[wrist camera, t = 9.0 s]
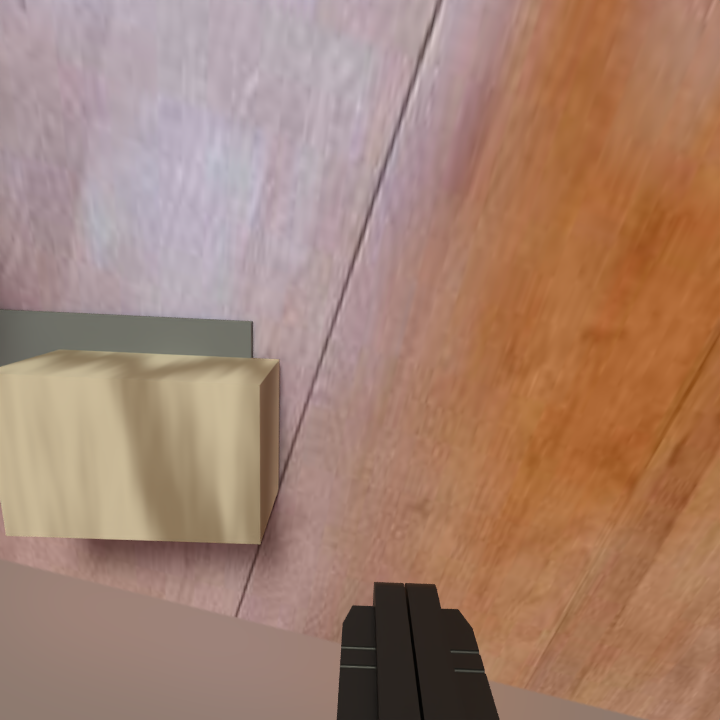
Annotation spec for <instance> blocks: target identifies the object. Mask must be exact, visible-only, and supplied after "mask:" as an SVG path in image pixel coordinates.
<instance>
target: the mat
mask: <svg viewBox="0 0 720 720" xmlns="http://www.w3.org/2000/svg"><path fill="white" fill-rule="evenodd" d="M60 349H61V350H83V351H105V352H127V353H149V354H171V355H194V356H216V357H238V358H253V321H235V320H214V319H193V318H172V317H151V316H130V315H109V314H88V313H67V312H46V311H25V310H4V309H0V367H1V366H5V365H8V364H12V363H15V362H19V361H22V360H25V359H29V358H32V357H36V356H39V355H42V354H46V353H49V352H53V351H56V350H60Z"/></svg>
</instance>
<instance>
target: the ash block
mask: <svg viewBox="0 0 720 720" xmlns="http://www.w3.org/2000/svg"><path fill="white" fill-rule="evenodd" d="M278 490H279V359H260V358H238V357H216V356H194V355H171V354H149V353H127V352H105V351H83V350H61V349H60V350H56V351H53V352H49V353H46V354H42V355H39V356H36V357H32V358H29V359H25V360H22V361H19V362H15V363H12V364H8V365H5V366H1V367H0V501H1V507H2V513H3V519H4V525H5V532H6V536H29V537H59V538H88V539H118V540H147V541H177V542H206V543H236V544H261V541H262V538H263V535H264V532H265V529H266V526H267V523H268V520H269V517H270V514H271V511H272V508H273V505H274V502H275V499H276V496H277V493H278Z"/></svg>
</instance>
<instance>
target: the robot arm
mask: <svg viewBox="0 0 720 720" xmlns="http://www.w3.org/2000/svg"><path fill="white" fill-rule="evenodd" d="M337 720H499V716H498V713H497V710H496V706H495V703H494V699H493V696H492V693H491V689H490V686H489V683H488V679H487V676H486V674H485V669H484V666H483V662H482V659H481V656H480V655H479V649H478V646H477V642H476V639H475V635H474V632H473V629H472V627H471V626H470V624H469V623H468V622H467V620H466V619H465V618H464V616H463V615H462V614H461V612H460V611H459V610H458V609H441V606H440V602H439V597H438V593H437V589H436V586H435V584H415V583H405V587H404V584H403V583H385V582H374V593H373V606H352V607H351V609H350V611H349V613H348V615H347V617H346V618H345V620H344V622H343V628H342V644H341V660H340V678H339V693H338V710H337Z"/></svg>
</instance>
